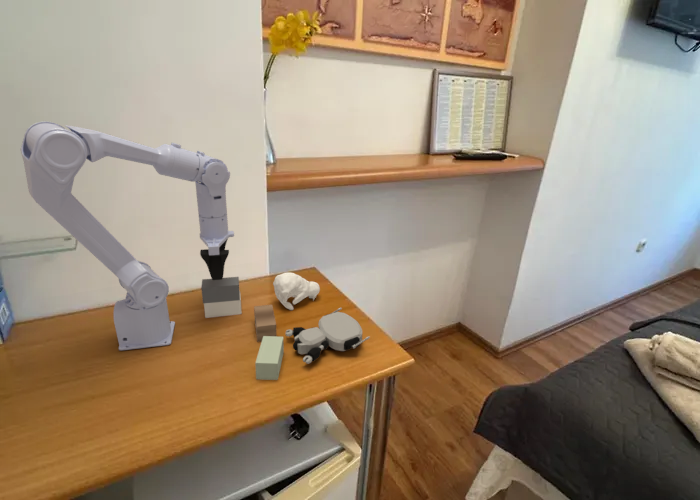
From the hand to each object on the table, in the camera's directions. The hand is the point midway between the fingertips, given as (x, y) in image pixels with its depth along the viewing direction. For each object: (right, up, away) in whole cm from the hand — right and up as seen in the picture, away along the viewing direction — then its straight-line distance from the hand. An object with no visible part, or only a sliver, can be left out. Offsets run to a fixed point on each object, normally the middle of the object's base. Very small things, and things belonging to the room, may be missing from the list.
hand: (217, 271), depth 87 cm
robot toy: (+25, -16, -5) cm, 30 cm away
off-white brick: (0, -10, +4) cm, 11 cm away
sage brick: (+14, -18, -12) cm, 26 cm away
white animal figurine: (+17, -8, +10) cm, 21 cm away
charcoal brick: (0, -6, +2) cm, 7 cm away
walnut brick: (+11, -13, -2) cm, 17 cm away
